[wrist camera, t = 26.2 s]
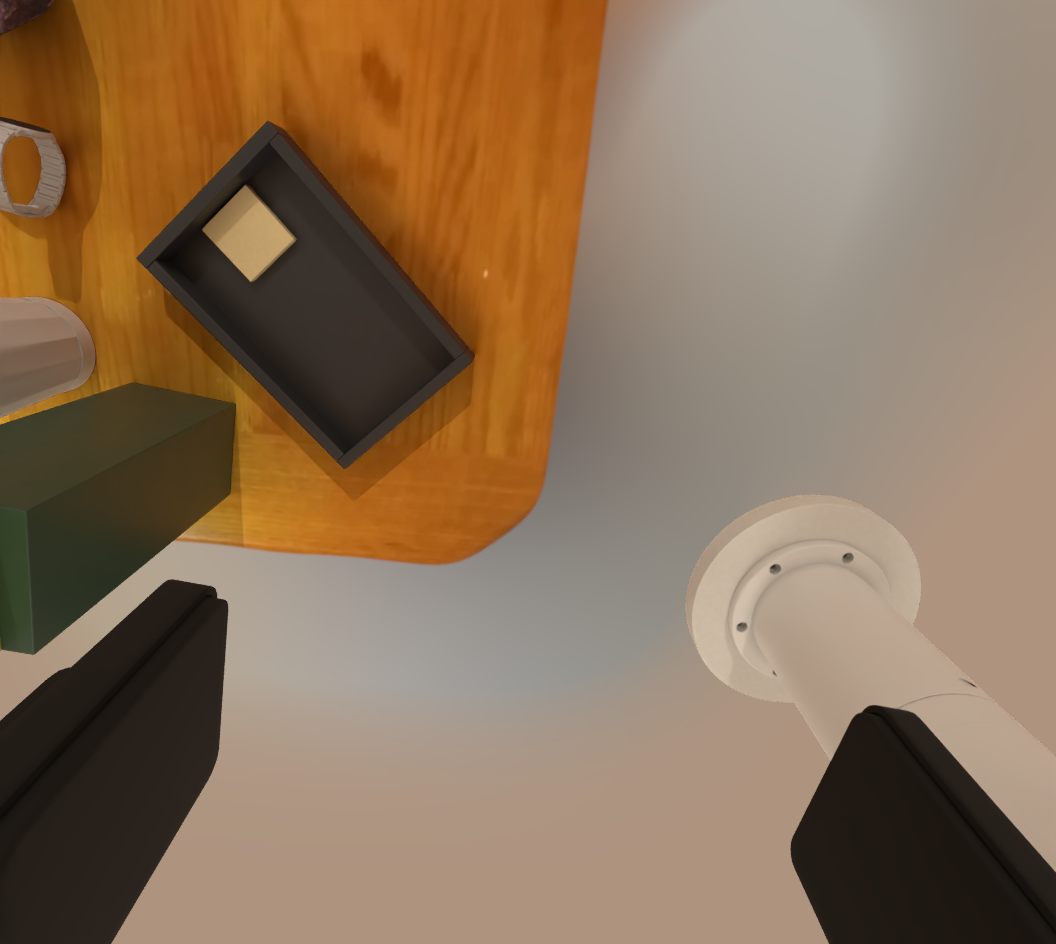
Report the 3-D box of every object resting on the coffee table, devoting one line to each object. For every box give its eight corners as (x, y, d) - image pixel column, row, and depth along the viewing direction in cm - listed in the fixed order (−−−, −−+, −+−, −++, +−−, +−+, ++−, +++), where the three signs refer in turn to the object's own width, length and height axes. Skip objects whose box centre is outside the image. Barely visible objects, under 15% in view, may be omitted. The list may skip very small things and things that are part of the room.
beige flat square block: (297, 239, 38) (294, 239, 37) (254, 281, 38) (250, 282, 38) (249, 185, 37) (245, 184, 36) (205, 229, 37) (201, 229, 37)
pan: (475, 355, 41) (472, 361, 38) (354, 457, 43) (344, 469, 41) (284, 129, 36) (267, 119, 34) (159, 258, 38) (135, 258, 36)
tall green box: (236, 403, 42) (25, 511, 24) (230, 494, 44) (34, 655, 26) (132, 382, 41) (-164, 476, 23) (131, 475, 43) (-139, 627, 25)
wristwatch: (80, 139, 36) (15, 121, 31) (75, 224, 38) (12, 219, 33) (30, 123, 36) (-44, 102, 31) (27, 209, 37) (-44, 202, 33)
